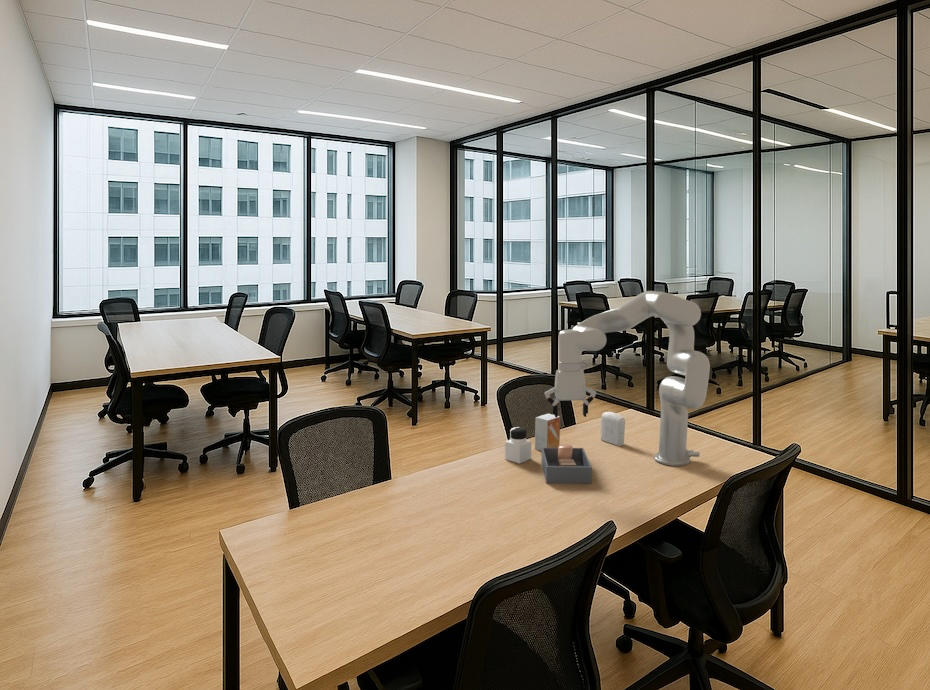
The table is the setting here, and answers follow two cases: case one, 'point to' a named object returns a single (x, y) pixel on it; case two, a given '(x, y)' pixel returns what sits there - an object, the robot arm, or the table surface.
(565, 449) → the pink rounded block
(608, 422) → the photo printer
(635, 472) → the table surface
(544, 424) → the small box
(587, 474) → the tote
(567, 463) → the walnut cube
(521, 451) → the medicine bottle
